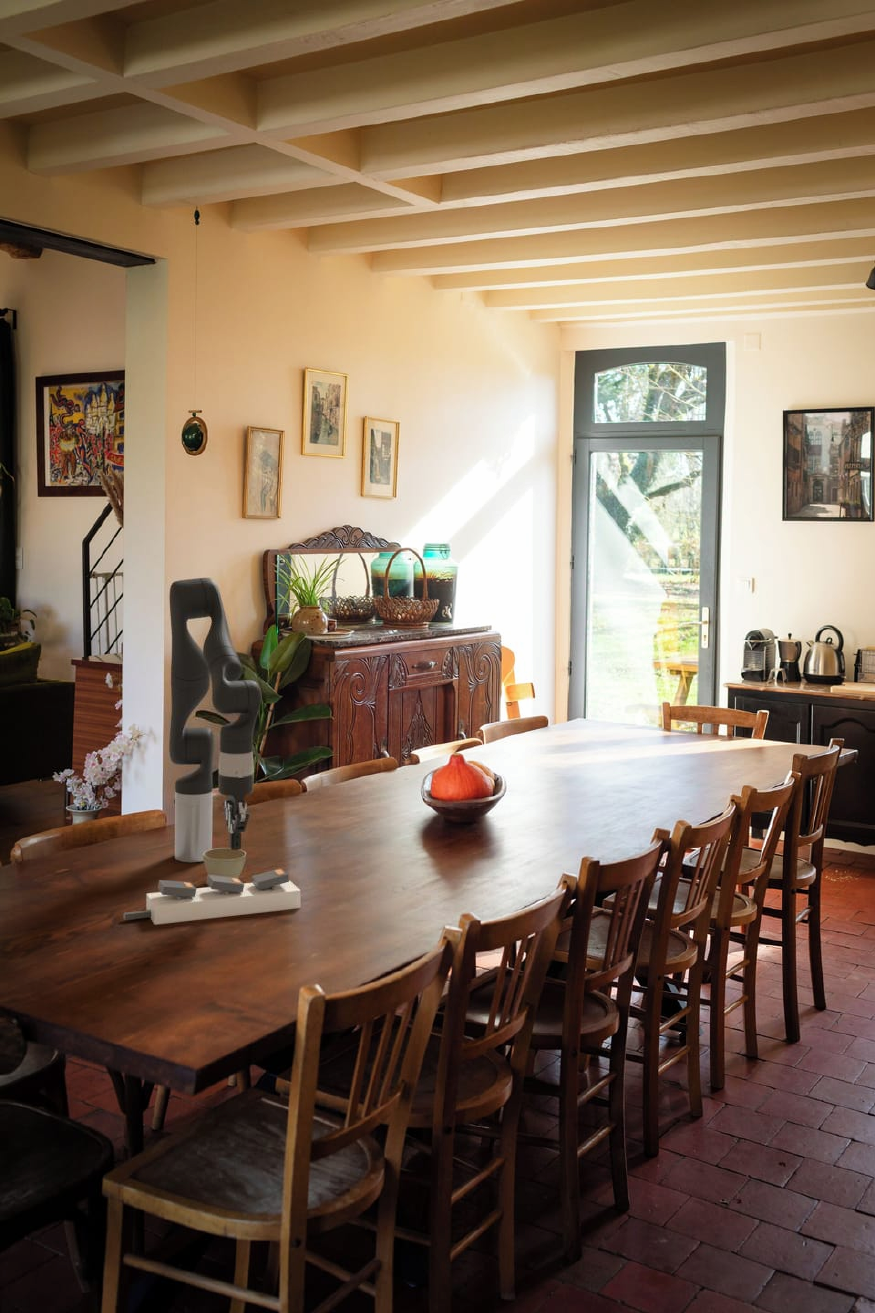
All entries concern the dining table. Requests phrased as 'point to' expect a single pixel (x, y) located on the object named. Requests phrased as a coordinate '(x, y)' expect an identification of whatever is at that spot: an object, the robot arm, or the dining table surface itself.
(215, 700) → the robot arm
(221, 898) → the power strip
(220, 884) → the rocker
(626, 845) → the dining table surface
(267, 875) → the block
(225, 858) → the flower pot
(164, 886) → the rocker
